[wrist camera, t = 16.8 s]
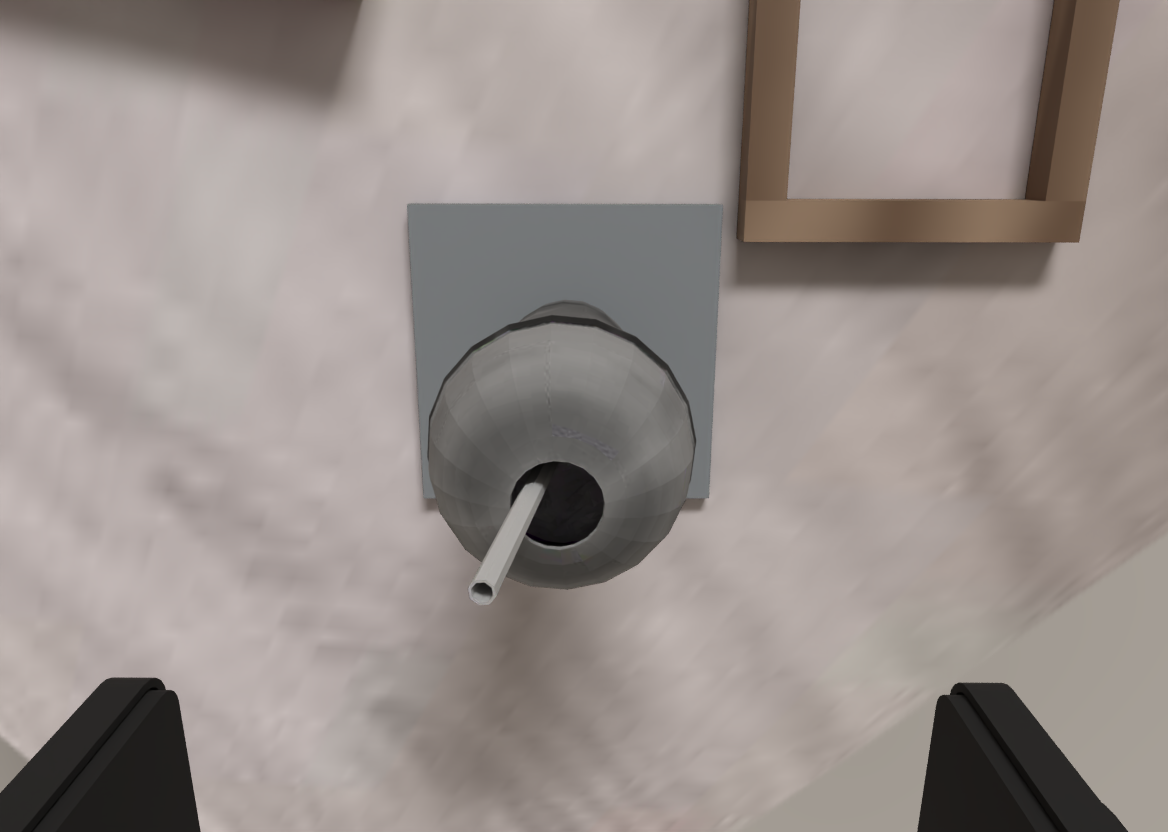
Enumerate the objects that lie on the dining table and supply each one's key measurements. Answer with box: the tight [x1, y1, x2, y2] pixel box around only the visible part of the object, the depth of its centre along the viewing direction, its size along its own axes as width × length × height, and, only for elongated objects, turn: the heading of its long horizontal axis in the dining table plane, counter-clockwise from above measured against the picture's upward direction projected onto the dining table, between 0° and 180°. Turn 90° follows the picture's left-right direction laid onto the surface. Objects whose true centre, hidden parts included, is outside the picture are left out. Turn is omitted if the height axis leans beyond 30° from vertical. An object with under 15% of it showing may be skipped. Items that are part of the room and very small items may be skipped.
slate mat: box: [407, 204, 723, 498], centre depth 34 cm, size 12×12×1 cm
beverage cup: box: [427, 300, 696, 605], centre depth 24 cm, size 7×7×20 cm
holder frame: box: [737, 0, 1120, 242], centre depth 31 cm, size 13×13×2 cm
